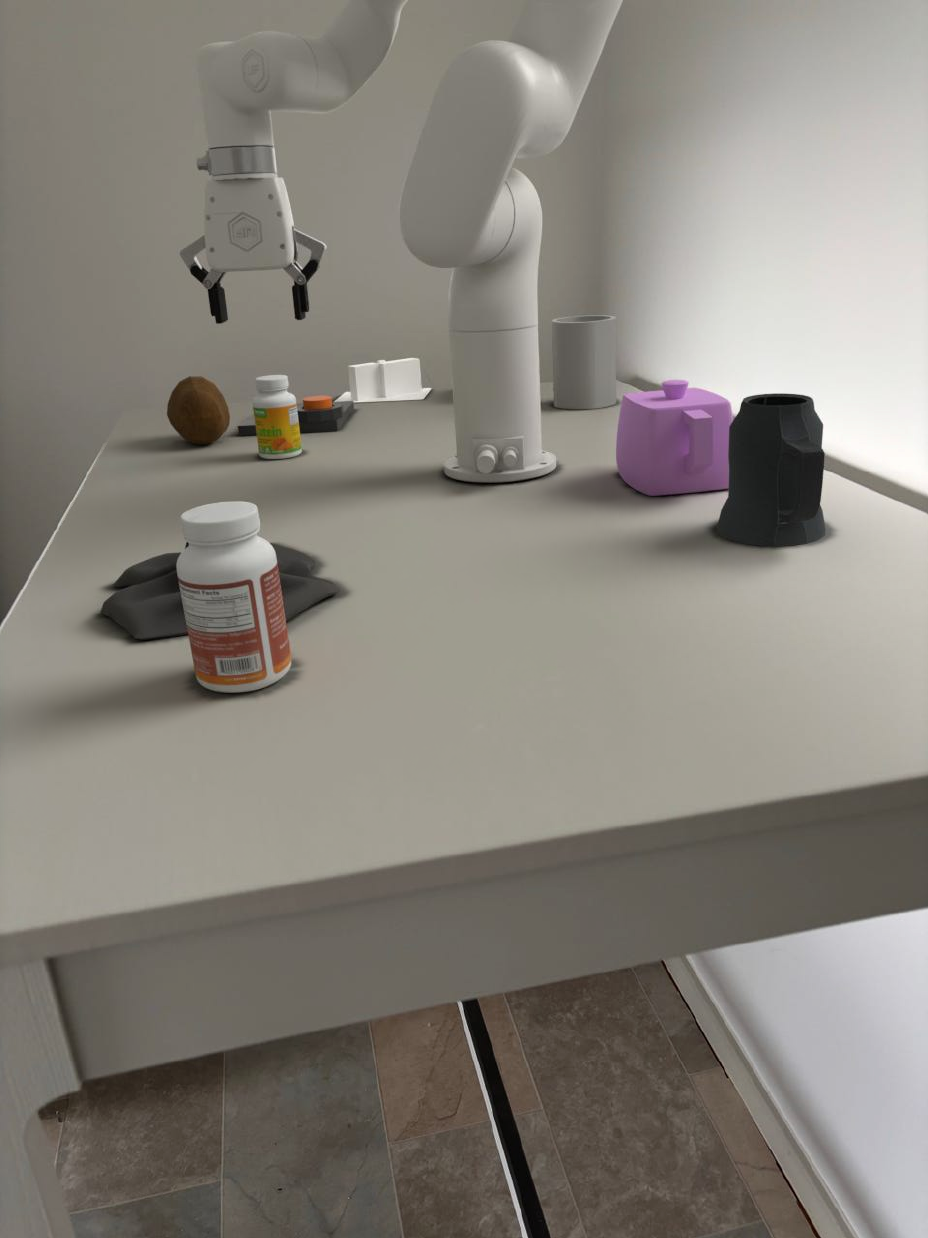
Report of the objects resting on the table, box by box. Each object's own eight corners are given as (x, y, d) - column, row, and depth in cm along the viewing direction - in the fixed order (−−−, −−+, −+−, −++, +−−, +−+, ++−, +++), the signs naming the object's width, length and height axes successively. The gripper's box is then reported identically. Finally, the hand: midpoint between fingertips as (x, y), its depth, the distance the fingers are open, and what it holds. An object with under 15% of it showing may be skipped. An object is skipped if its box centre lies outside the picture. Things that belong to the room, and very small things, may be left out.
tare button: (329, 410, 142) (328, 399, 141) (301, 412, 142) (300, 401, 142) (334, 405, 146) (333, 394, 145) (306, 407, 146) (305, 396, 145)
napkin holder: (432, 387, 172) (429, 352, 170) (424, 399, 162) (421, 362, 160) (345, 391, 174) (341, 357, 172) (331, 403, 163) (327, 367, 161)
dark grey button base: (340, 431, 142) (338, 409, 140) (238, 436, 142) (235, 415, 141) (357, 409, 157) (355, 389, 156) (264, 414, 158) (262, 395, 157)
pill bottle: (255, 648, 70) (232, 492, 66) (311, 670, 66) (291, 505, 62) (177, 679, 66) (147, 515, 62) (232, 705, 62) (204, 531, 58)
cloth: (343, 626, 73) (334, 544, 71) (77, 656, 71) (59, 573, 69) (333, 538, 94) (326, 472, 92) (127, 559, 92) (114, 492, 89)
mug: (701, 520, 92) (705, 394, 88) (798, 510, 93) (806, 386, 89) (752, 561, 81) (758, 420, 77) (861, 550, 82) (874, 410, 78)
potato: (162, 452, 135) (151, 385, 132) (178, 434, 146) (168, 372, 143) (226, 447, 136) (216, 381, 132) (237, 430, 147) (228, 368, 144)
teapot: (600, 465, 114) (598, 372, 110) (691, 457, 115) (693, 364, 111) (650, 507, 97) (650, 398, 93) (755, 496, 98) (760, 389, 94)
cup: (544, 402, 153) (542, 319, 148) (600, 395, 155) (599, 313, 151) (568, 411, 145) (566, 324, 140) (626, 404, 147) (626, 318, 143)
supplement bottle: (252, 459, 128) (241, 381, 124) (271, 450, 132) (261, 374, 129) (290, 460, 126) (281, 380, 123) (309, 450, 131) (300, 373, 127)
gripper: (158, 169, 114) (181, 327, 120) (311, 161, 113) (326, 320, 119) (179, 170, 121) (200, 320, 127) (323, 163, 120) (337, 314, 126)
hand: (261, 320), depth 123 cm, fingers open, 9 cm apart
